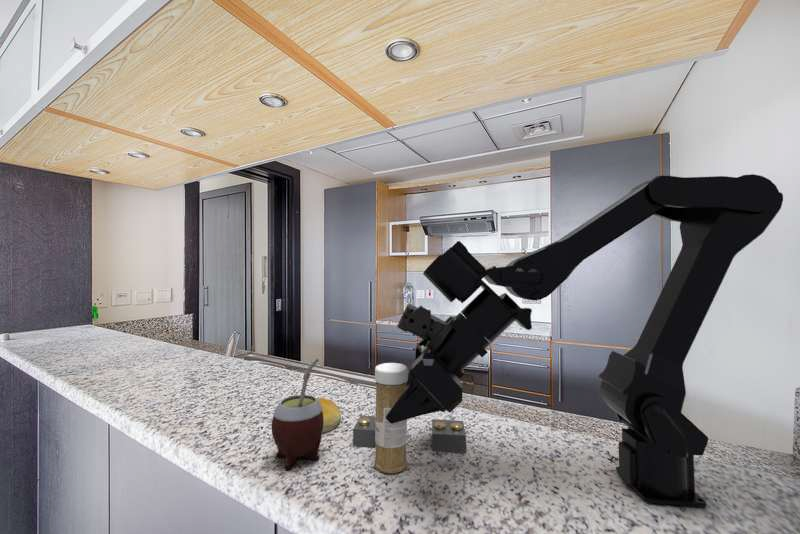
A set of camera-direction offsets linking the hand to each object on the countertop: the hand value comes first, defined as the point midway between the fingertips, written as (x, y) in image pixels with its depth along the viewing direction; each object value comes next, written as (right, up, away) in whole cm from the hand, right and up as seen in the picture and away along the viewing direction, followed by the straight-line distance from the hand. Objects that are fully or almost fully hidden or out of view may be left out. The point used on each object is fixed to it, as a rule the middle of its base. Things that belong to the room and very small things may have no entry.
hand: (393, 406), depth 44 cm
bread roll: (-14, -9, +13) cm, 21 cm away
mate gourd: (-13, -8, +1) cm, 16 cm away
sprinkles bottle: (0, -8, 0) cm, 8 cm away
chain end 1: (-3, -8, +7) cm, 11 cm away
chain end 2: (+8, -8, +6) cm, 13 cm away
